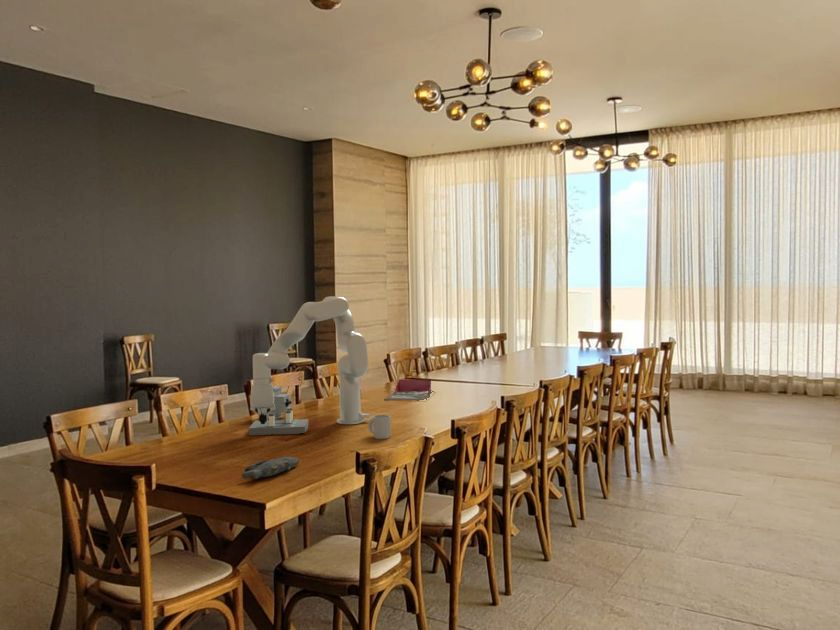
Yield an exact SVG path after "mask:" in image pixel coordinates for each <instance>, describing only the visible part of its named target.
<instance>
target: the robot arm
mask: <svg viewBox="0 0 840 630" xmlns="http://www.w3.org/2000/svg"><path fill="white" fill-rule="evenodd" d="M349 308H350V305H349V301H348V300H347V299H346V298H345V297H342V296H332V295H331V296H326V297H324V298H323V299H322V300H321V301H307V302H305V303H303V304H301V306H300V308H299V310H298V311H297V312H296V314H295V316H294V317H293V319H292V320H291V322H290V324H289V325H288V327H287V328H286V329H285V330H284V331H283V332H282V333H281V334H280V335H279V336H278V337H277V338H276V339H275V341H273V343H272V345H271V346H270V348H269V349H268V350H267V352H258V353H254V354H253V355H252V381H253V382H252V385H251V389H250V398H249V399H250V401H249V404H250V408H249V410H250V411H253V412H255V413H256V414H258V420H259V422H261V424H265V422H267V413H268V412H269V411H272V410H275V394H274V387H273V386H274V384H273V382H274V383H275V378H272V375H271V374H272V372H271V370H284V369H287V367H289V365H290V363H291V361H290V360H291V359H290V356H289V355H288V354H287V352H288V350H289V349H290V348H291V347H293V346H294V345H295V344H297V343H300V342H301V341H302V340H303V339H305V337H306V335H307V334H308V332H309V331H310V329H311V328H312V326H313V325H314V324H315V322H321V321H326V320H330V319H333V321H334V323H335V330H336V338H337V346H338V348H339V350H341V352H344V353H345V352H346V353H347V354H344V355H342V356H341V357H340V358H339V359H338V362H337V372H338V378H339V379H338V380H339V416H340V417H339V418H337V420H336V423H337V424H340V425H356V424H357V425H358V424H363V423H364V422H365V419H371V414H370V413H363V412H362V410H361V409H362V407H361V380H360V378H361V377H364V376H365V375H366V374H367V372H368V369H369V357H368V347H367V340H366V339H365V337H364V336H363V335H362V334H361V333H359V332H356V328H355V321H354V317H353V314H352V313H351V311H350V310H349ZM261 408H264V413H262V410H261Z"/></svg>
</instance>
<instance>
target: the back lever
mask: <svg viewBox="0 0 840 630" xmlns="http://www.w3.org/2000/svg"><path fill="white" fill-rule="evenodd" d="M293 408H294V407H290V408H287V410H291V420H294V419H293V414H294V413H293V411H294V409H293Z"/></svg>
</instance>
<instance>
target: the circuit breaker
mask: <svg viewBox="0 0 840 630" xmlns="http://www.w3.org/2000/svg"><path fill="white" fill-rule="evenodd" d="M273 387H274V394H275V410H272V411H269V412H268V413H267V420H268V419H269V413H275V415H274V420H279V419H281V418H282V417H283V414H282V413H285V411H286V410H287V408H291V404H292V401H291V394H290V393H282V386H274V385H273ZM261 410H262V413H264V408H261ZM276 417H277V418H276ZM280 417H281V418H280Z"/></svg>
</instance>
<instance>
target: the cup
mask: <svg viewBox="0 0 840 630" xmlns="http://www.w3.org/2000/svg"><path fill="white" fill-rule="evenodd" d="M391 426H392V425H391V415H389V414H376V415H375V414H374V415H373V416H372V417H370V418H369V420H368V430H369V432H370V433H371V434H372V435H373V438H374V439H375V440H386V439H390V438H391V434H392V431H391V430H392V429H391Z"/></svg>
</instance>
